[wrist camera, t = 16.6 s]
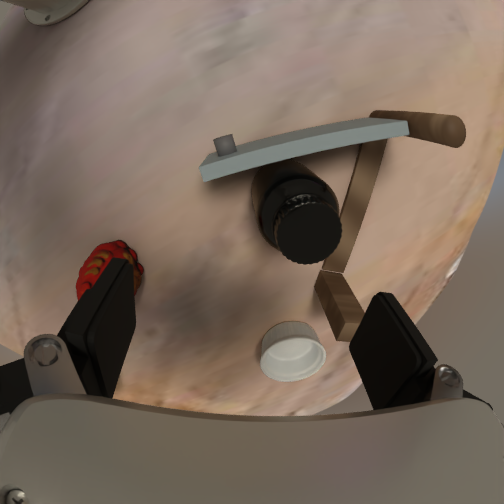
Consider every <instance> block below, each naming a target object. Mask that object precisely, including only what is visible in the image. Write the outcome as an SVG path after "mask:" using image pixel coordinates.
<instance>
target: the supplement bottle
mask: <svg viewBox="0 0 504 504" xmlns="http://www.w3.org/2000/svg"><path fill="white" fill-rule="evenodd" d="M251 193H252V200H253V205H254V210H255V215H256V220H257V224H258V228H259V230H260V233H261V234H262V236H263V238H264V239H265V240H266V241H267V242H268V243H269V244H270V245H271V246H272V247H274V248H275V249H277V250H279V251H281V252H282V254H283V255H284V256H286V258H287V259H289V260H291V261H292V262H297V263H298V264H304V265H306V264H313V263H318V262H319V261H323V260H324V259H325V258H328V257H329V256H330V254H332V253H333V252H334V250H335V249H337V247H338V244H339V243H340V239H341V237H342V231H343V230H342V223H341V222H340V217H339V204H338V200H337V198H336V195H335V193H334V192H333V190H332V189H331V188H330V187H329V185H327V184H326V183H325V182H324V181H323V180H322V179H321V178H319V177H318V176H317V175H316V174H314V173H313V172H312V171H311V170H309V169H308V168H307V167H306V166H304V165H303V164H301V163H299V162H297V161H294V160H291V159H285V160H281V161H277V162H273V163H269V164H266V165H264V166H263V167H262V168H261V169H260V170H259V171H258V172H257V174H256V175H255V177H254V180H253V183H252V189H251Z"/></svg>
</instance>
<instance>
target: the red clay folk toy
mask: <svg viewBox="0 0 504 504" xmlns="http://www.w3.org/2000/svg"><path fill="white" fill-rule="evenodd" d="M113 257H116V258H122V259H128V261H129V264H133V270H134V296H135V294H136V292H137V289H138V288H139V286H140V284H141V275H142V274H143V268H142V266H141V265H140V264H139V263H137V255H136V253H135V252H134V250H132V249H130V248H129V247H128V246H127V244H126V243H125V242H123V241H121V240H117V241H114V242H109V243H105V244H101V245H99V246H97V247H96V248H95V250H94V251H93V252H92V253H91V255H90V256H89V257H88V258H87V260H86V261H85V262H84V264H83V266H82V267H81V269H80V271H79V278H78V280H77V283H76V290H77V298H78V301H79V299H80V298H81V296H82V295H83V293H84V292H85V290H86V289H91V288H92V287H93V285H94V284H95V282H96V281H97V279H98V278H99V276H100V275H101V273H102V272H103V270H104V269H105V267H106V266H107V265H108V263H109V262H110V260H111V259H112V258H113Z"/></svg>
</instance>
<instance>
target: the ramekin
mask: <svg viewBox="0 0 504 504" xmlns="http://www.w3.org/2000/svg"><path fill="white" fill-rule="evenodd" d="M325 360H326V351H325V349H324V347H323V345H322V344H321V343H320V341H319V338H318V336H317V334H316V333H315V331H314V330H313V329H312V327H311V326H309V325H308V324H306V323H303V322H298V321H289V322H284V323H281V324H278V325H276V326H274V327H273V328H271V329H270V330H269V331H268V332H267V333H266V334H265V336H264V338H263V340H262V353H261V359H260V367H261V370H262V372H263V373H264V374H265V375H266V376H268V377H269V378H271V379H274V380H276V381H282V382H291V381H298V380H302V379H305V378H307V377H309V376H311V375H313V374H314V373H316V372H317V371H318V370H319V369H320V368H321V367H322V366H323V364H324V362H325Z"/></svg>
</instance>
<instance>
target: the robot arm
mask: <svg viewBox="0 0 504 504" xmlns="http://www.w3.org/2000/svg"><path fill="white" fill-rule="evenodd" d="M0 1H4V2H7V3H11V4H14V5H17V6H20V7H23V8H24V13H25V16H26V18H27V20H28V21H29V22H31V23H33V24H36V25H40V26H46V25H52V24H54V23H57V22H60V21H62V20H63V19H65V18H67V17H69V16H70V15H72V14H73V13H75V12H76V11H77V10H78V9H80V8H81V7H82V6H83V5H84V4H85V3H86V2H87V1H88V0H0ZM135 327H136V315H135V298H134V270H133V264H129V261H128V259H122V258H116V257H113V258H112V259H111V260H110V262H109V263H108V265H107V266H106V267H105V269H104V270H103V272H102V273H101V275H100V276H99V278H98V279H97V281H96V282H95V284H94V285H93V287H92V288H91V289H86V290H85V292H84V293H83V295H82V296H81V298H80V299H79V301H78V302H77V304H76V305H75V307H74V308H73V310H72V312H71V313H70V315H69V316H68V318H67V320H66V321H65V323H64V325H63V326H62V328H61V330H60V331H59V333H58V335H57V336H55V335H53V334H42V335H39V336H36V337H34V338H33V339H31V340H30V341H29V342H28V343H27V345H26V346H25V349H24V358H22V359H19V360H17V361H14V362H11V363H8V364H6V365H3V366H0V504H504V425H503V424H502V423H501V422H500V421H499V420H498V418H497V416H496V415H495V414H494V412H493V408H492V407H491V405H490V404H489V403H486V402H485V401H483V400H481V399H479V398H477V397H476V396H474V395H472V394H470V393H468V392H467V391H465V390H463V379H462V377H461V375H460V374H459V372H458V371H457V370H456V369H454V368H453V367H451V366H449V365H445V364H441V365H439V366H438V367H437V368H436V369H435V368H434V365H435V363H436V362H437V361H438V359H437V358H436V356H435V354H434V353H433V351H432V350H431V348H430V347H429V345H428V344H427V342H426V341H425V339H424V338H423V336H422V335H421V333H420V332H419V330H418V329H417V327H416V326H415V325H414V323H413V322H412V320H411V319H410V317H409V316H408V315H407V313H406V312H405V310H404V309H403V308H402V306H401V305H400V303H399V302H398V301H397V299H396V298H395V297H394V295H393V294H392V293H386V292H378V293H377V294H376V295H374V296H373V298H372V300H371V302H370V304H369V306H368V308H367V310H366V312H365V314H364V316H363V318H362V320H361V322H360V324H359V326H358V328H357V330H356V332H355V334H354V336H353V338H352V340H351V342H350V345H349V350H350V353H351V355H352V358H353V360H354V362H355V365H356V367H357V370H358V372H359V374H360V377H361V379H362V382H363V384H364V387H365V389H366V392H367V394H368V397H369V399H370V402H371V404H372V407H373V410H371V411H363V412H353V413H343V414H330V415H312V416H246V415H228V414H215V413H204V412H195V411H186V410H179V409H171V408H164V407H157V406H151V405H145V404H139V403H134V402H129V401H123V400H117V399H112V398H113V395H114V391H115V388H116V385H117V381H118V378H119V375H120V372H121V369H122V366H123V363H124V360H125V357H126V354H127V351H128V348H129V345H130V342H131V339H132V336H133V334H134V331H135Z"/></svg>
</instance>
